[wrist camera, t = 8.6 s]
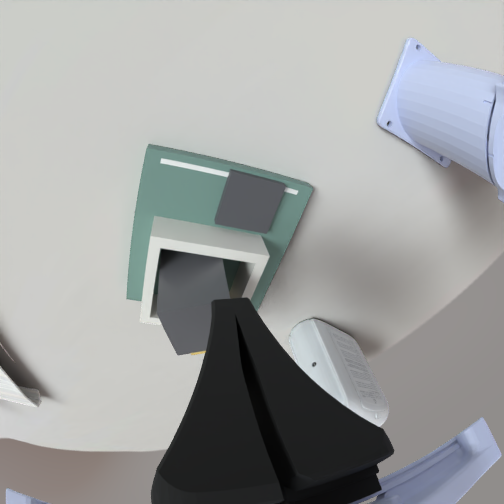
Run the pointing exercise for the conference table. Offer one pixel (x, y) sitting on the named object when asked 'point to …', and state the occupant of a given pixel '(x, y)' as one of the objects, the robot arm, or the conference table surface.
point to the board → (211, 221)
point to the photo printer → (339, 368)
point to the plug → (189, 297)
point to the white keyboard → (17, 390)
